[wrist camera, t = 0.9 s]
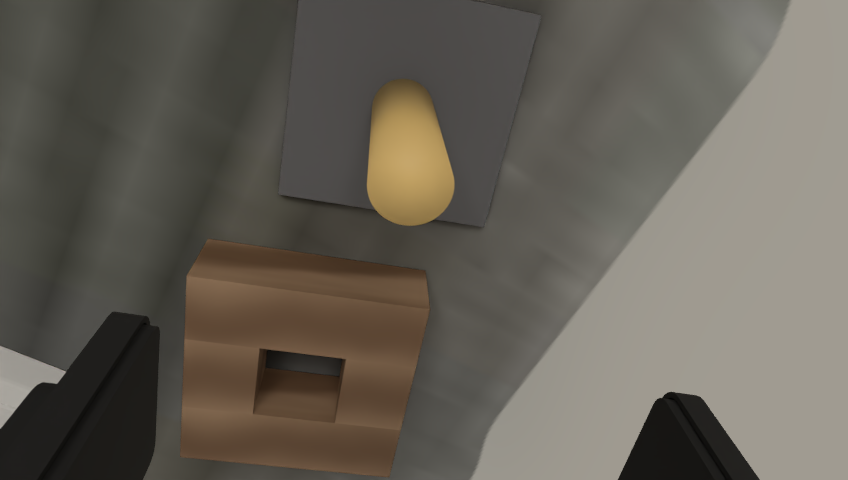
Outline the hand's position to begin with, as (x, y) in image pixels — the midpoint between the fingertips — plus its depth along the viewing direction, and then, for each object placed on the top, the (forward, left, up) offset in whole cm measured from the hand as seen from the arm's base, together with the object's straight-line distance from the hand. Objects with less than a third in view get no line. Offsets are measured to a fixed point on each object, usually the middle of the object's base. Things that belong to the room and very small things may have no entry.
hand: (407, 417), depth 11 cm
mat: (0, 0, -21) cm, 21 cm away
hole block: (+15, -3, -21) cm, 26 cm away
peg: (0, 0, -21) cm, 21 cm away
